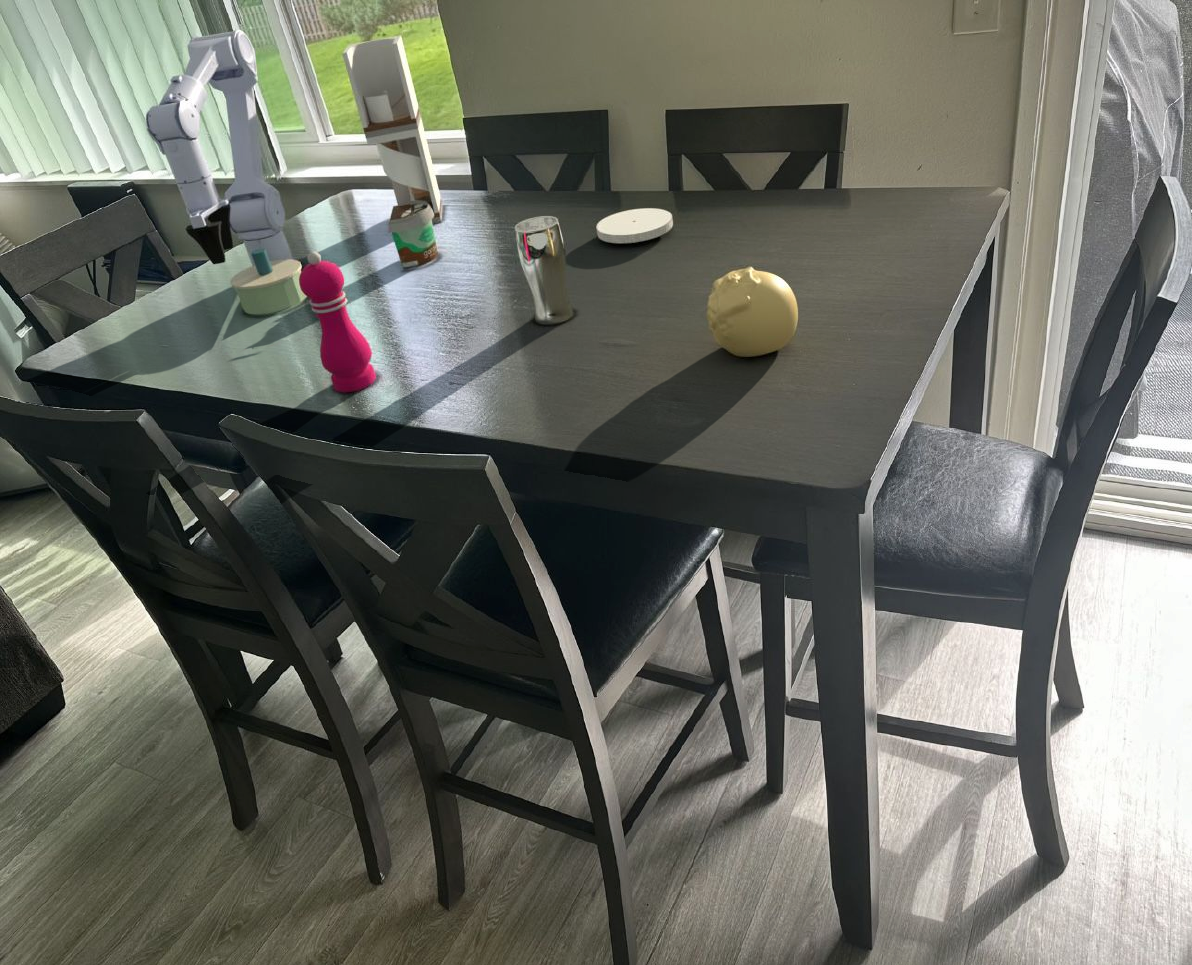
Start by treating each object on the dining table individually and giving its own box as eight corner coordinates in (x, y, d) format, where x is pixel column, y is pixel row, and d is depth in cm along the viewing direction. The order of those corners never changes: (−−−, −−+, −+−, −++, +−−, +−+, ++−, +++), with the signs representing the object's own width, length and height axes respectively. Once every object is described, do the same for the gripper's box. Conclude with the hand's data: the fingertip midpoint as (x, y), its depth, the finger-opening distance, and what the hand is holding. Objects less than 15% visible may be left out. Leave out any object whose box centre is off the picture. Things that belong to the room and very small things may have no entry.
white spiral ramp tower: (395, 215, 206) (348, 44, 187) (442, 206, 207) (400, 35, 187) (391, 231, 197) (342, 53, 178) (441, 221, 197) (396, 43, 178)
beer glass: (582, 307, 147) (566, 214, 139) (567, 326, 142) (549, 231, 134) (542, 307, 150) (524, 216, 142) (525, 326, 145) (505, 232, 136)
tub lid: (238, 273, 173) (228, 246, 170) (306, 259, 173) (297, 233, 171) (226, 297, 162) (216, 270, 159) (298, 283, 163) (289, 255, 160)
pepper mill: (334, 375, 140) (291, 247, 129) (382, 367, 140) (342, 238, 129) (327, 398, 134) (280, 266, 123) (376, 389, 134) (334, 256, 123)
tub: (250, 298, 175) (240, 270, 172) (311, 286, 176) (302, 258, 173) (240, 322, 165) (229, 293, 162) (305, 308, 166) (295, 279, 163)
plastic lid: (686, 223, 173) (685, 209, 172) (649, 251, 164) (648, 237, 162) (622, 219, 180) (621, 206, 179) (584, 246, 171) (581, 232, 170)
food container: (431, 272, 172) (417, 219, 166) (401, 274, 173) (386, 221, 168) (453, 247, 182) (440, 196, 176) (423, 249, 183) (410, 199, 178)
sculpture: (707, 334, 133) (700, 262, 127) (792, 323, 131) (789, 250, 125) (713, 371, 123) (706, 294, 117) (805, 359, 122) (802, 282, 116)
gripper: (209, 185, 151) (239, 264, 159) (225, 163, 163) (252, 238, 171) (165, 193, 151) (197, 272, 158) (184, 171, 163) (213, 246, 170)
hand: (223, 255), depth 164 cm, fingers open, 7 cm apart
